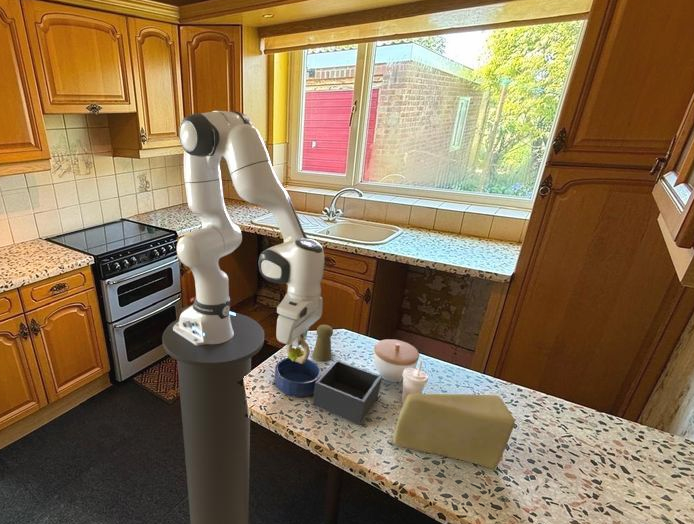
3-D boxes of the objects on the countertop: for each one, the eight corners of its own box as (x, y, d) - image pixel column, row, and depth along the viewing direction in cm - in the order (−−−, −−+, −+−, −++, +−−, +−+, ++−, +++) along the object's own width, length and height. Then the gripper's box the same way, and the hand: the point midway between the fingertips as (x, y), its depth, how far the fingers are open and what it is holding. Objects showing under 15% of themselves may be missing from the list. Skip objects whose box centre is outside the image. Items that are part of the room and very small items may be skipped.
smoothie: (417, 413, 107) (428, 371, 101) (393, 403, 111) (402, 362, 105) (424, 401, 112) (434, 359, 106) (400, 392, 115) (410, 351, 109)
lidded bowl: (420, 375, 123) (428, 345, 118) (400, 393, 115) (407, 361, 110) (383, 358, 131) (389, 329, 126) (362, 374, 123) (367, 343, 118)
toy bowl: (266, 386, 118) (267, 372, 116) (288, 365, 127) (289, 352, 125) (306, 403, 111) (307, 389, 109) (326, 380, 120) (328, 366, 118)
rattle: (320, 362, 116) (325, 324, 113) (300, 367, 111) (305, 328, 108) (302, 353, 121) (307, 317, 118) (282, 358, 117) (286, 320, 114)
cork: (311, 358, 131) (314, 329, 126) (314, 349, 136) (317, 321, 131) (330, 362, 129) (333, 332, 124) (332, 352, 134) (335, 323, 129)
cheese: (396, 458, 94) (408, 409, 87) (389, 429, 102) (400, 381, 96) (498, 472, 90) (518, 421, 84) (482, 440, 99) (500, 392, 92)
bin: (312, 404, 111) (315, 382, 107) (333, 380, 120) (336, 359, 117) (359, 425, 103) (364, 402, 100) (377, 397, 113) (382, 376, 110)
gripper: (310, 284, 116) (306, 325, 122) (273, 309, 101) (270, 355, 108) (330, 289, 113) (324, 331, 119) (295, 317, 98) (290, 363, 104)
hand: (298, 343), depth 113 cm, fingers closed on rattle
